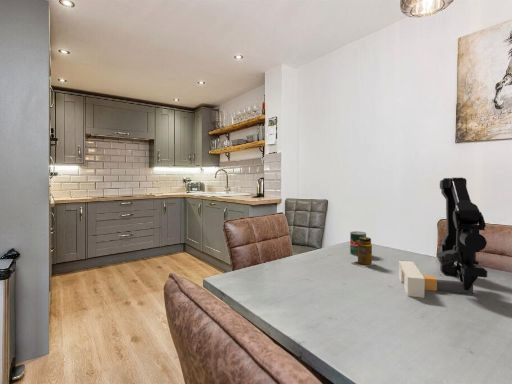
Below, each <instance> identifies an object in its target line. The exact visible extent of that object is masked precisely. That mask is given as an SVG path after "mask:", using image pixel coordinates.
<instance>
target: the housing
mask: <svg viewBox="0 0 512 384" xmlns="http://www.w3.org/2000/svg"><path fill="white" fill-rule="evenodd" d="M422 275H423V274H422V273H421V271H420V270H419V268H418V267H417V266H416V264H415V262H414V261H409V260H408V261H407V260H406V261H405V260H398V278H399V280H400V282H401V283H404V285H403V287H404V288H403V290H404V291H405V293H406V294H405V295H407V297H414V298H423V299H424V298H425V290H424V289H425V279H424V277H423V276H422Z"/></svg>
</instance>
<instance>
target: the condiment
mask: <svg viewBox="0 0 512 384" xmlns="http://www.w3.org/2000/svg"><path fill="white" fill-rule="evenodd" d="M372 248H373V244H372V238H371V237H367V236H366V237H360V238H359V243H358V255H357V261H354V262H351V264H353V265H355V266H358V267H363V268H367V267H370V266H371V267H372V266H373V265H375V263H374V262H372V261H373V258H372V257H373V256H372V255H373V253H372V252H373V249H372Z"/></svg>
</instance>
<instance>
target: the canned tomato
mask: <svg viewBox="0 0 512 384" xmlns="http://www.w3.org/2000/svg"><path fill="white" fill-rule="evenodd" d="M349 233H350V234H349V236H350V239H349V240H350V242H349V243H350V245H349V246H350V247H349V248H350V249H349V254H350V255H353V256H358V243H359V238H360V237H367V233H366V232H365V231H358V230H357V231H350V232H349Z"/></svg>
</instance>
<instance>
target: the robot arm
mask: <svg viewBox="0 0 512 384" xmlns="http://www.w3.org/2000/svg"><path fill="white" fill-rule="evenodd" d="M467 184H468V183H467V179H466V178H465V177H444V178H443V179H441V180H440V181H439V189H440V190H441V195H442V196H443V197H444V198H445V217H446V220H445V223H446V235H445V236H444V237H443V239H442V240H441V244H440V246H439V250H438V252H437V253H436V257H437V259H438V262H439V263H440V265H439V266H440V271H441V273H442V274H443V275H444V276H452V277H458V278H459V282H463V285H464V290H469V289H470V287H471V286H472V284H473V285H474V283H475V282H476V280H477V279H479V278H488V271H487V269H485V268H484V266H482V265H479V261H478V260H477V253H479V252H481V251H483V250H484V249H485V248H486V247H487V242H488V241H487V239H486V237H485V236H483V234H481V233H480V231H485V230H486V221H485V218H484V215H483V214H482V211H480V210H479V207H478V205H476V204H475V203H473V202H472V200H471V197H470V194H469V191H468V186H467Z"/></svg>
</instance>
